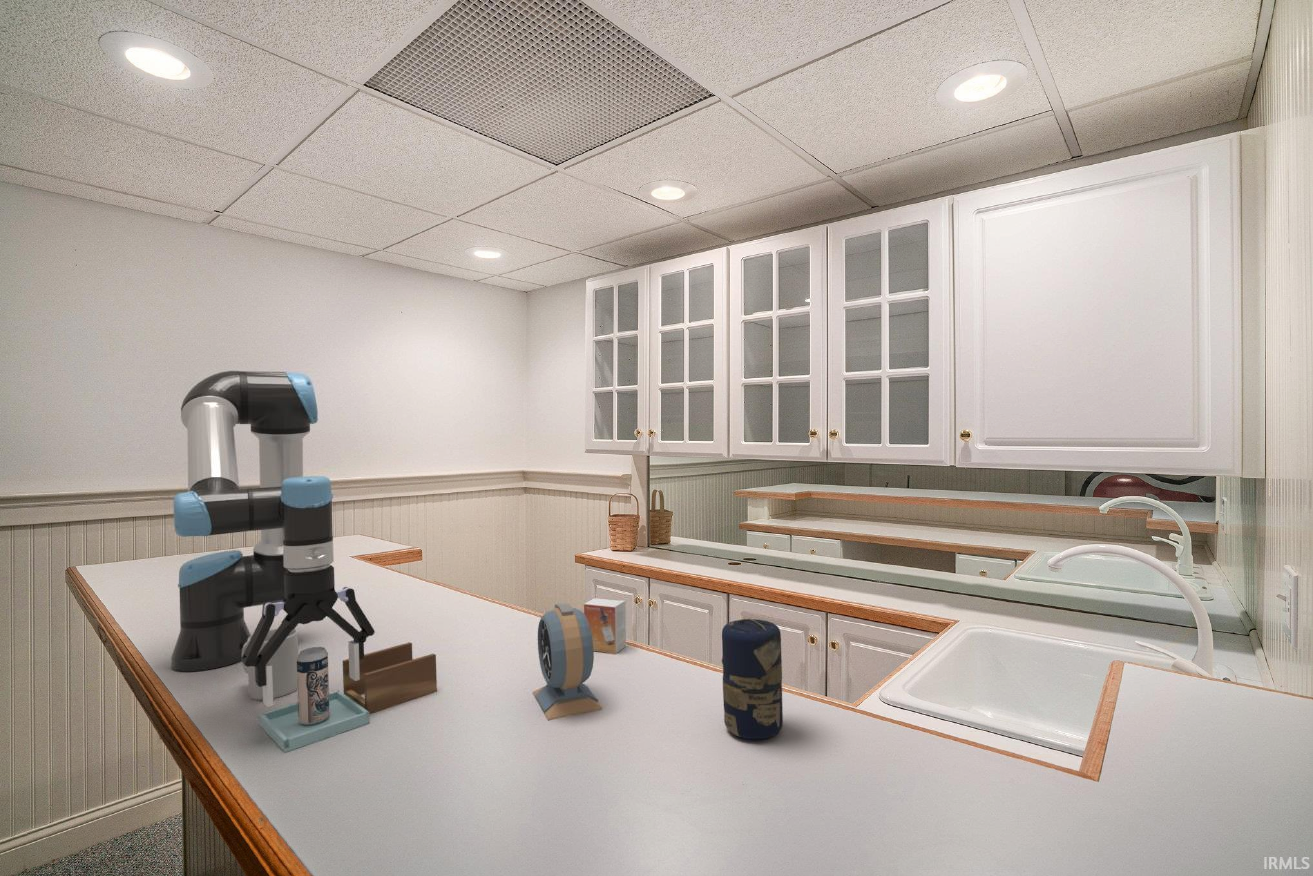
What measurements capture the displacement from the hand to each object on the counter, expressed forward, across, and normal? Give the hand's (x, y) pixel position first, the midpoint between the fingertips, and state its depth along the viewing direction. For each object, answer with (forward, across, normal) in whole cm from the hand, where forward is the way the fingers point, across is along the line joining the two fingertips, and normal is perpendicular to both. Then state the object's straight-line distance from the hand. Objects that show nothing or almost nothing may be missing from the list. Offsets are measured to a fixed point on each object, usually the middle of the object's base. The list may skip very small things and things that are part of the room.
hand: (313, 690), depth 107 cm
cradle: (+6, +14, +2) cm, 15 cm away
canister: (+6, +47, -58) cm, 75 cm away
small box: (+6, +57, -11) cm, 58 cm away
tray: (+6, 0, 0) cm, 6 cm away
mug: (+6, -1, +23) cm, 24 cm away
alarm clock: (+6, +34, -26) cm, 43 cm away
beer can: (+5, 0, 0) cm, 5 cm away
